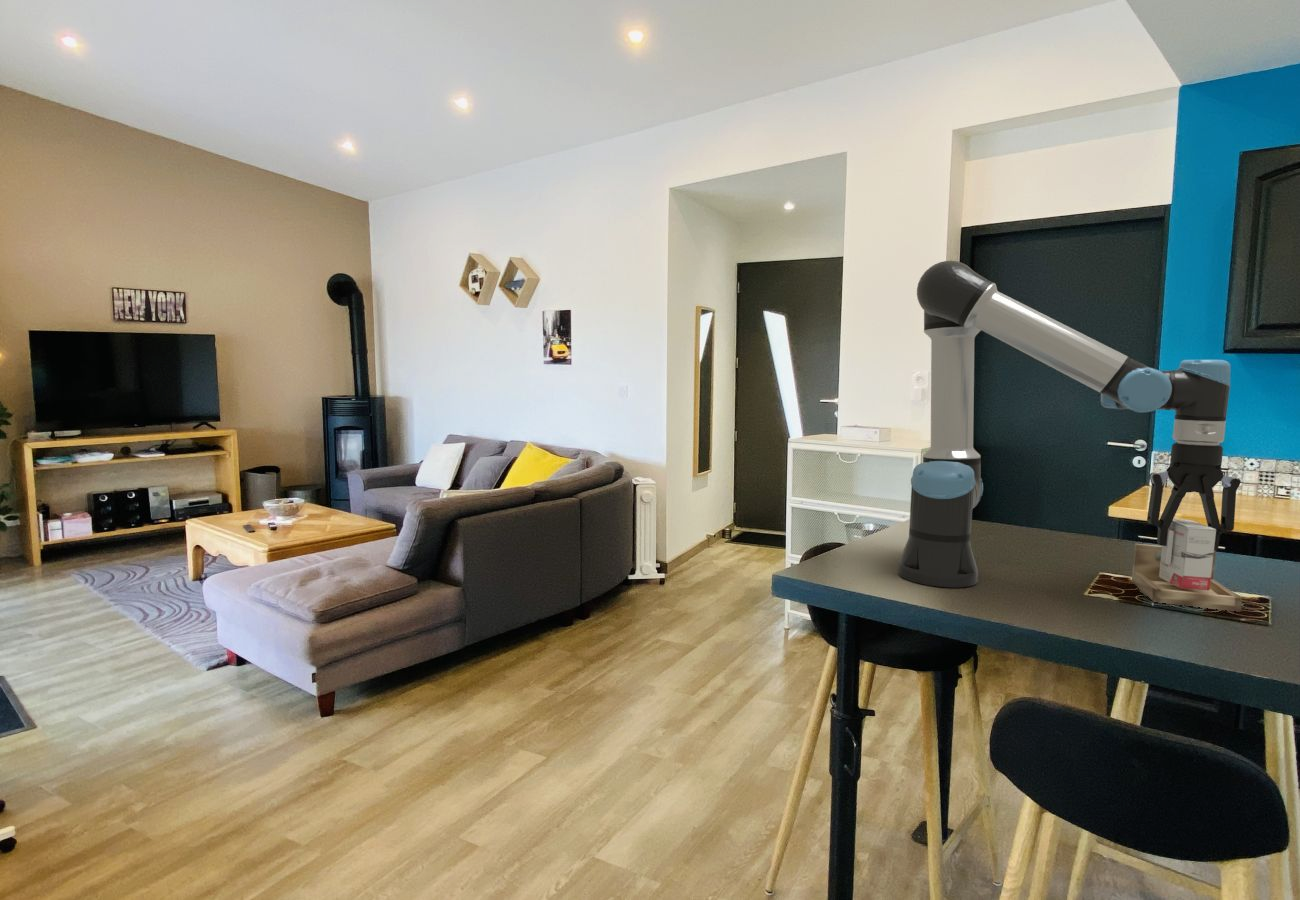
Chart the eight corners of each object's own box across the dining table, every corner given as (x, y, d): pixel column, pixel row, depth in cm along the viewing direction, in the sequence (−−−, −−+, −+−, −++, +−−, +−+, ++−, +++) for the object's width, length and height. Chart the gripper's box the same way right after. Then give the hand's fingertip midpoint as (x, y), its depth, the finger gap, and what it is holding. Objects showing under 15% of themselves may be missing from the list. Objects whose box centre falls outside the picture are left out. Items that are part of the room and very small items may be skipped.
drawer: (1153, 602, 126) (1157, 560, 125) (1131, 581, 139) (1135, 543, 138) (1240, 612, 121) (1245, 568, 120) (1209, 589, 134) (1213, 550, 133)
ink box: (1212, 591, 125) (1217, 527, 124) (1181, 589, 126) (1185, 526, 125) (1186, 578, 133) (1191, 518, 132) (1157, 576, 134) (1161, 517, 133)
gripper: (1144, 442, 127) (1133, 563, 129) (1269, 447, 120) (1254, 575, 123) (1132, 439, 134) (1122, 554, 136) (1250, 443, 127) (1236, 564, 129)
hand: (1185, 564), depth 129 cm, fingers closed on ink box, 5 cm apart
